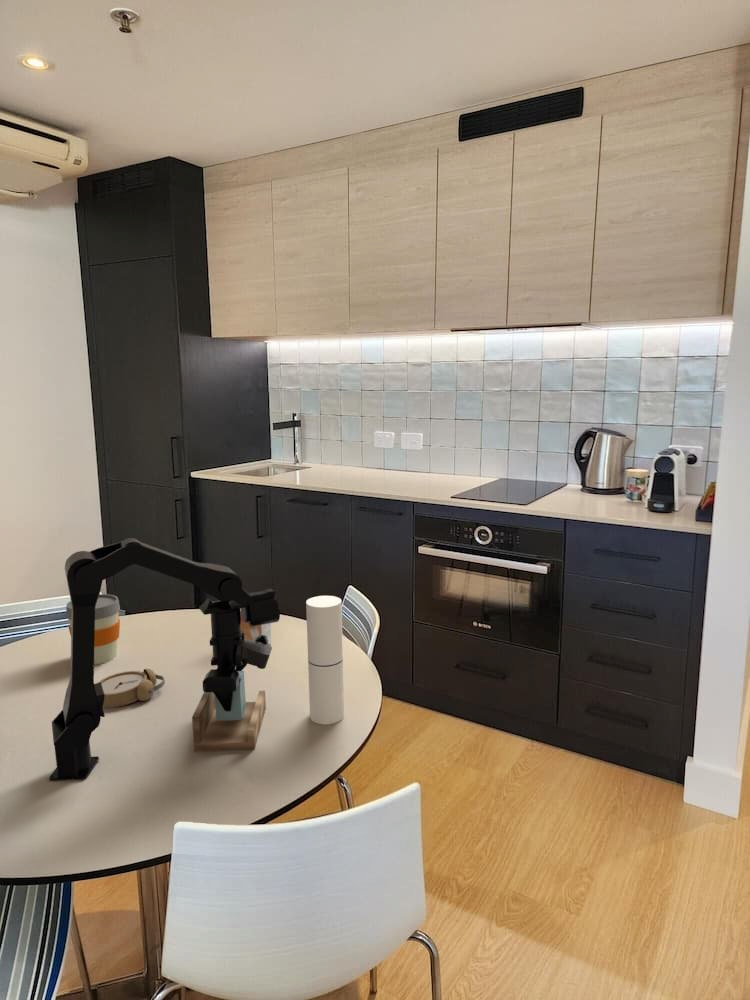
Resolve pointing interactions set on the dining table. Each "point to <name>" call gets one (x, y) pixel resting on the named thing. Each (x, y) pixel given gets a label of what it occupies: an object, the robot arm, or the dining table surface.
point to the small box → (256, 630)
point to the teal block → (233, 703)
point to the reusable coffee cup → (103, 627)
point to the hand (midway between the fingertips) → (230, 704)
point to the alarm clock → (129, 687)
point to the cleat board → (226, 726)
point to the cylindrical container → (325, 659)
